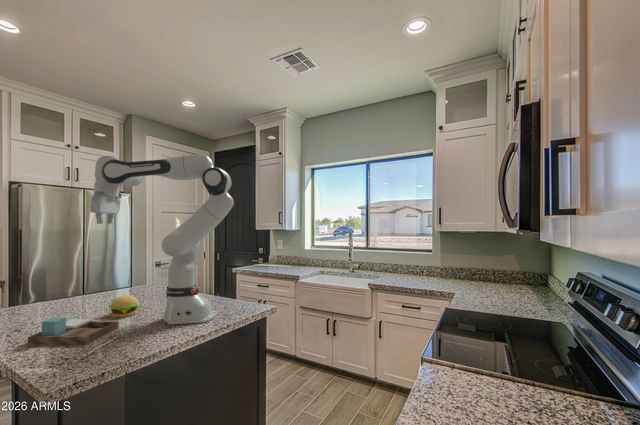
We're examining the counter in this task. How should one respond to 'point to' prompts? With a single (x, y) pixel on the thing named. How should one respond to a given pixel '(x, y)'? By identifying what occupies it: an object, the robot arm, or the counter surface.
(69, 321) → the cover
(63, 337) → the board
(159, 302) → the counter surface
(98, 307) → the counter surface
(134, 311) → the hamburger
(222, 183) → the robot arm
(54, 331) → the block
